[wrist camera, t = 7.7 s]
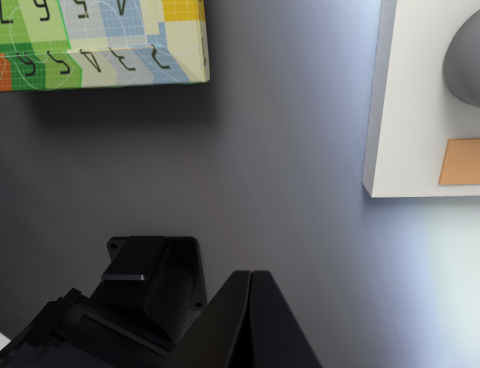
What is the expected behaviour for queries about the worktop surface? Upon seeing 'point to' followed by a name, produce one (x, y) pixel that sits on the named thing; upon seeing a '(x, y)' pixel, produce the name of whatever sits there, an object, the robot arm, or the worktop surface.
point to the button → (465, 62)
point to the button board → (420, 106)
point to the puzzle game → (101, 44)
